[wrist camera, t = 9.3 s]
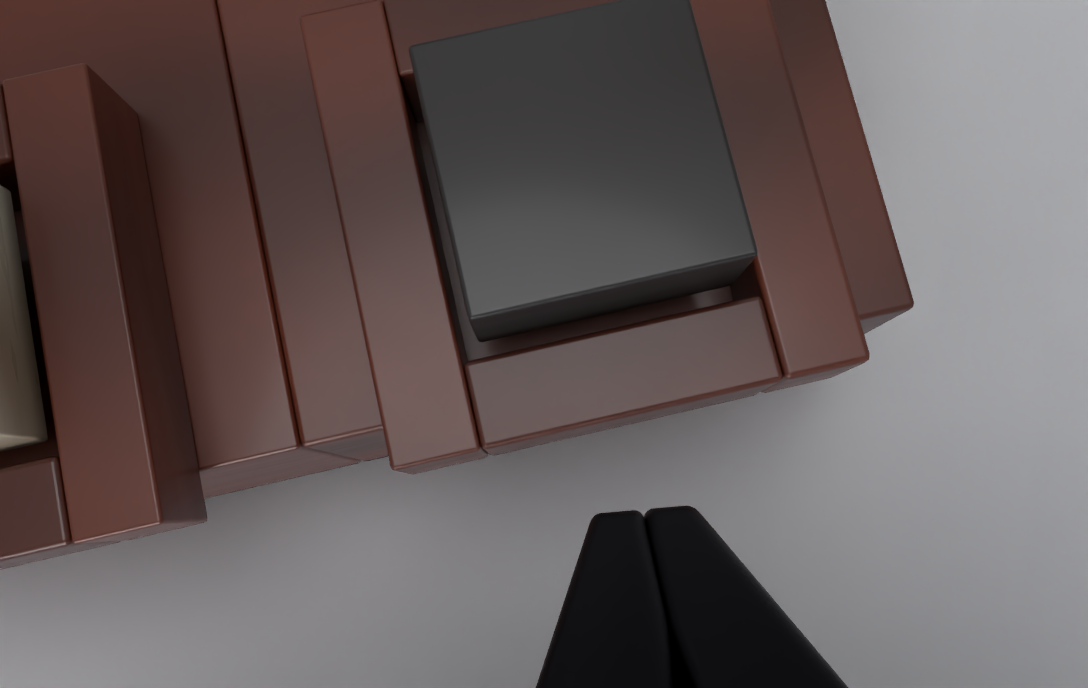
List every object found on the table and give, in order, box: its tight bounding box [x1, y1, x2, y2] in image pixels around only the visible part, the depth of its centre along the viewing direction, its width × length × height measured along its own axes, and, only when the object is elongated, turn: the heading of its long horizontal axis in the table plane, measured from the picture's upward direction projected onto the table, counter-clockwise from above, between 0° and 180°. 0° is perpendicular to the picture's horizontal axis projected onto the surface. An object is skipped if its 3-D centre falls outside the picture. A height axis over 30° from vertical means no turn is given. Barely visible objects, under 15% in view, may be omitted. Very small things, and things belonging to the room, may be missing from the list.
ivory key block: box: [0, 0, 360, 569], centre depth 17 cm, size 10×10×7 cm
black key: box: [409, 0, 758, 342], centre depth 13 cm, size 4×4×2 cm
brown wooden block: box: [216, 0, 914, 474], centre depth 17 cm, size 10×10×7 cm
